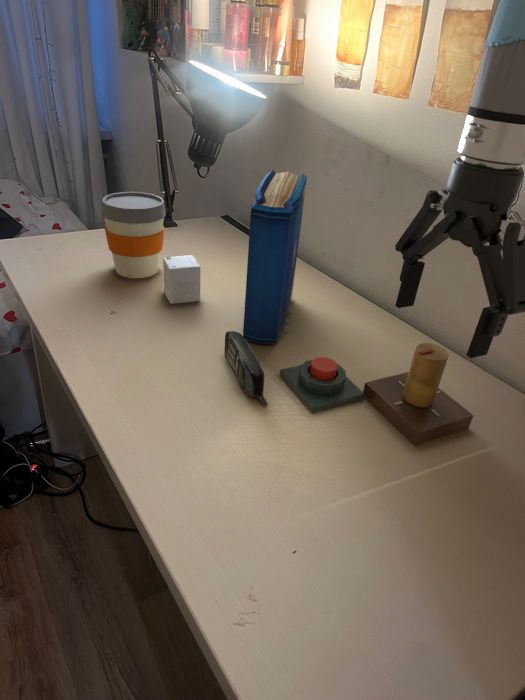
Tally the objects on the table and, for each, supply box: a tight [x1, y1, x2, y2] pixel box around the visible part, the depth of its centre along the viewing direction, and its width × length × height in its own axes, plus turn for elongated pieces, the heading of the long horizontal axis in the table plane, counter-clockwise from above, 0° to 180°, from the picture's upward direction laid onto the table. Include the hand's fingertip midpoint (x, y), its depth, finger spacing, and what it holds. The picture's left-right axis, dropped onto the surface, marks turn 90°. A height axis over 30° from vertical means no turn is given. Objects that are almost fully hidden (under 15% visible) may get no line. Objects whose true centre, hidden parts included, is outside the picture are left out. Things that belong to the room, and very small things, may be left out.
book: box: [242, 169, 308, 345], centre depth 88 cm, size 22×7×25 cm, turn 171°
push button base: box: [278, 359, 365, 414], centre depth 77 cm, size 9×10×3 cm
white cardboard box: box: [162, 254, 201, 305], centre depth 98 cm, size 6×6×7 cm
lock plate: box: [362, 371, 474, 447], centre depth 74 cm, size 10×12×3 cm
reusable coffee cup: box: [101, 191, 167, 279], centre depth 105 cm, size 12×13×15 cm
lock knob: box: [403, 342, 450, 407], centre depth 71 cm, size 4×4×8 cm
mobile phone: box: [224, 330, 269, 407], centre depth 76 cm, size 5×3×15 cm
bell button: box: [310, 356, 338, 381], centre depth 76 cm, size 4×4×2 cm
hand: (437, 328), depth 67 cm, fingers open, 13 cm apart
